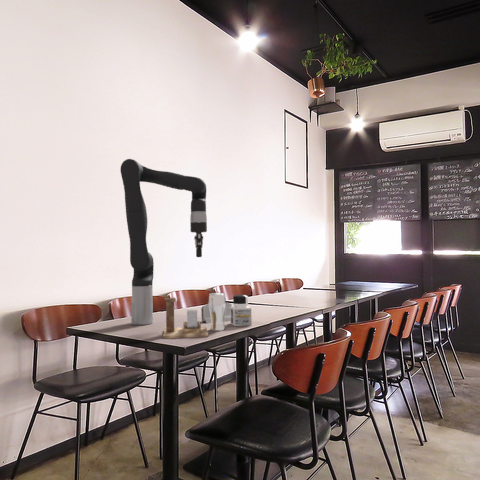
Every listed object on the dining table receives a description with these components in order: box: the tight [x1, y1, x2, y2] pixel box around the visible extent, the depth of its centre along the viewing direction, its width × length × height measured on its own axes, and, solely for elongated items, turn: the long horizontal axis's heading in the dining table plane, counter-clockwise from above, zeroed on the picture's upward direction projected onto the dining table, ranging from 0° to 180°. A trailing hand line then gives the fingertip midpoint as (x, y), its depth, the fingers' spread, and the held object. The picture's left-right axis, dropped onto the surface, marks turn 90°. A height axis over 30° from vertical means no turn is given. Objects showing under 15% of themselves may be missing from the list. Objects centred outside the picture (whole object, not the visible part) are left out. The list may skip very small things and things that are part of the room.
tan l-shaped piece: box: [162, 297, 209, 339], centre depth 165 cm, size 17×16×14 cm
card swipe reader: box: [200, 301, 233, 324], centre depth 196 cm, size 17×5×10 cm, turn 121°
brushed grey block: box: [186, 309, 198, 329], centre depth 165 cm, size 4×4×8 cm
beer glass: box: [208, 292, 226, 332], centre depth 172 cm, size 7×7×15 cm
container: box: [230, 294, 253, 327], centre depth 184 cm, size 8×8×13 cm
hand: (198, 257), depth 190 cm, fingers open, 8 cm apart
